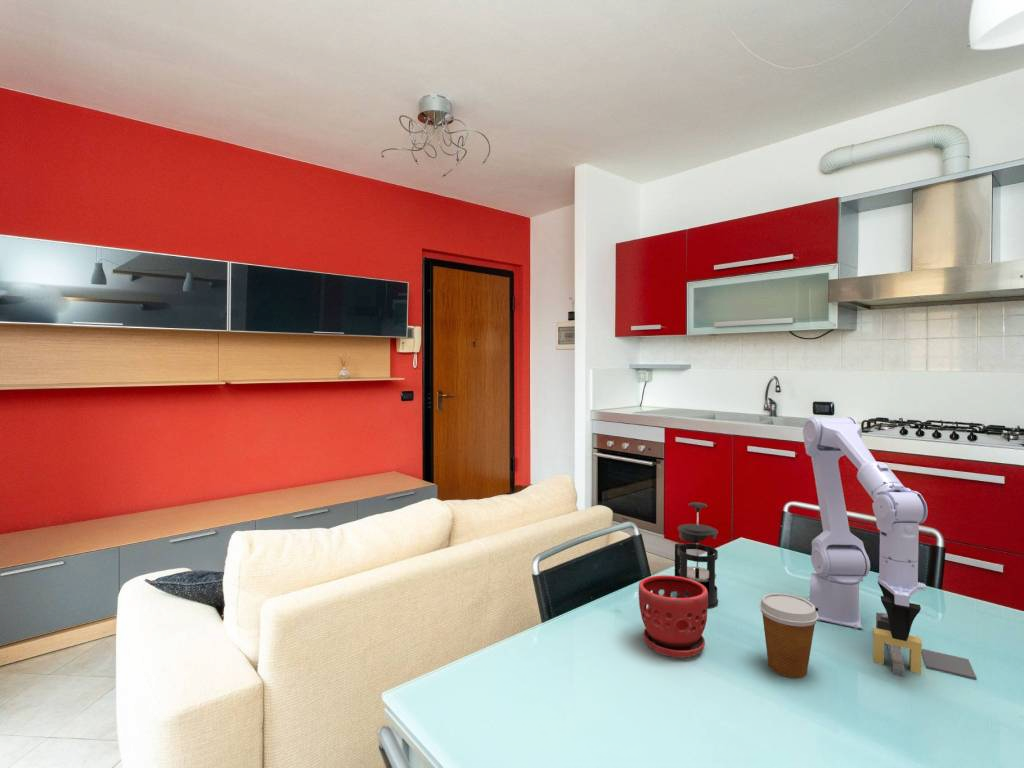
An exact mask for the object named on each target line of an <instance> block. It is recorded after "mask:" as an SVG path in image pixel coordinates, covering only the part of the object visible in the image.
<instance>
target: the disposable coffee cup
mask: <svg viewBox="0 0 1024 768" xmlns="http://www.w3.org/2000/svg"><path fill="white" fill-rule="evenodd" d="M758 605H759V606H758V607H759V609H760V612H761V615H762V621H763V630H764V638H765V648H766V657H767V665H768V667H769V669H771V670H772V671H773V672H775V673H777V674H779V675H782V676H785V677H788V678H794V679H799V678H804V677H806V676H807V675H808V668H809V664H810V663H809V662H810V656H811V650H812V643H813V637H814V632H815V625H816V623H817V621H818V613H817V612H816V609H815V606H814V605H813V604H812V603H811V602H809V600H807V599H805V598H803V597H800V596H796V595H792V594H788V593H782V592H781V593H780V592H779V593H778V592H774V593H767V594H765V595H763V596H762V598H761V601H760V602H759V604H758Z"/></svg>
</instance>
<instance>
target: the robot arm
mask: <svg viewBox="0 0 1024 768" xmlns="http://www.w3.org/2000/svg"><path fill="white" fill-rule="evenodd" d="M862 433H863V430H862V426H861V425H860V424H859V422H858V420H857V419H856V418H854V417H851V416H848V417H847V416H846V417H815V416H810V417H808V419H807V420H806V421H805V423H804V425H803V429H802V435H803V442H804V448H805V454H806V455H807V456H809V457H811V463H812V468H813V469H812V470H813V474H814V479H815V480H814V483H815V488H816V494H817V495H816V496H817V499H818V506H819V512H820V513H819V514H820V519H821V525H822V532H821V533H819V535H817V536H815V538H813V539H812V541H811V557H810V558H811V559H810V560H811V564H812V568H813V569H814V571H815V572H810V577H809V581H810V583H809V597H808V601H809V602H811V603H812V604H813V605H814V606H815V609H816V612H817V613H818V620H819V621H823V622H827V623H831V624H836V625H840V626H845V627H850V628H854V629H862V618H861V616H862V615H861V612H860V582H864V578H865V577H867V576H868V575H869V572H870V570H871V561H870V558H869V555H868V554H867V551H866V549H865V546H864V541H863V540H861V539H860V538H859V537H857V536H856V535H854V534H853V533H852V532H851V530H850V524H849V520H848V512H847V507H846V501H845V497H844V490H843V484H842V479H841V471H840V466H839V460H840V459H841V457H844V456H846V458H847V459H848V460H849V461H851V463H852V464H853V465H854V466H855V468H857V470H858V471H857V474H856V479H857V480H858V482H859V483H860V484H861V485H862V487H863V489H864V490H865V491H866V493H867V494H868V495H869V496H870V498H871V499H872V501H873V502H872V505H871V506H872V511H873V515H874V517H875V521H876V528H877V530H879V567H878V568H879V569H878V571H879V572H878V574H879V575H878V576H877V584H878V587H880V591H881V593H882V595H880V601H881V603H882V606H883V607H884V609H885V612H886V614H887V616H888V619H889V625H890V631H891V635H892V638H893V639H898V640H902V641H907V639H908V636H909V635H910V633H911V629H912V624H913V622H914V620H915V619H916V616H917V615H918V614H919V613H920V611H921V610H922V607H921V604H917V603H911V602H910V599H911V597H912V596H913V595H914V594H915V593H916V592H918V591H926V590H927V585H926V584H925V583H924V582H920V581H918V580H919V579H918V578H919V534H920V533H919V530H920V528H919V527H920V526H919V525H920V524H924V522H925V521H926V520H927V517H928V513H929V512H928V505H927V502H926V500H925V499H924V497H923V495H922V494H921V493H920V492H918V491H916V490H912V489H910V487H905V485H904V484H903V483H902V482H901V481H900V479H898V477H897V476H896V474H895V473H894V472H893V471H892V470H891V468H890V467H889V466H888V464H886V463H885V462H881V461H877V460H876V459H875V457H874V456H873V454H872V453H871V451H870V450H869V448H868V446H867V445H866V444H865V442H864V440H863V439H862V437H863V435H862ZM831 545H832V546H831ZM833 545H834V546H833ZM837 545H838V546H839V547H838V546H837ZM844 546H845V547H844ZM818 620H817V621H818Z"/></svg>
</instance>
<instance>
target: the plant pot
mask: <svg viewBox="0 0 1024 768" xmlns="http://www.w3.org/2000/svg"><path fill="white" fill-rule="evenodd" d="M661 590H663V594H661V595H660V591H661ZM685 591H688V592H689V593H690V596H689V597H687V596H685ZM674 592H675V593H677V592H678V593H679V594H680V596H681V598H676V597H671V594H672V593H674ZM638 605H639V611H640V615H641V620H642V623H643V625H644V627H645V629H644V631H643V635H642V636H643V640H644V641H645V643H646V645H647V646H649V648H651V649H652V650H653V651H655V652H657V653H659V654H662V655H664V656H667V657H671V658H690V657H693V656H696V655H697V654H700V653H701V652H702V651H703V649H704V648H705V646H706V639H705V638H704V636H703V633H704V631H705V628H706V624H707V621H708V609H709V608H708V591H707V589H706V587H705V586H703V585H702V584H701V583H699V582H697V581H694V580H691V579H688V578H684V577H678V576H675V575H666V574H665V575H664V574H662V575H654V576H653V575H652V576H648V577H645V578H643V579H642V580H641V581H639V583H638ZM707 608H708V609H707Z"/></svg>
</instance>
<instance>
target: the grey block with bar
mask: <svg viewBox="0 0 1024 768" xmlns="http://www.w3.org/2000/svg"><path fill="white" fill-rule="evenodd" d="M875 628H878V629H883V630H887V631H890V625H889V619H888V616H887V612H886V613H885V612H875ZM887 647H888V648H887V649H888V653H889V654H888V655H889V660H890V665H891V671H892V674H893V675H897V676H901V677H905V663H904V658H903V653H902V649H901V648H902V647H898V646H894V645H889V644H887Z"/></svg>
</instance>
